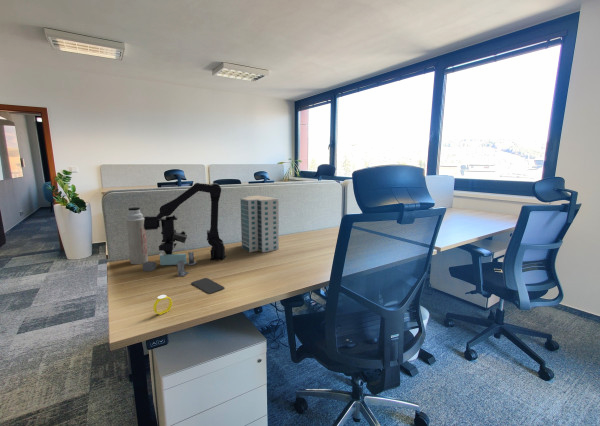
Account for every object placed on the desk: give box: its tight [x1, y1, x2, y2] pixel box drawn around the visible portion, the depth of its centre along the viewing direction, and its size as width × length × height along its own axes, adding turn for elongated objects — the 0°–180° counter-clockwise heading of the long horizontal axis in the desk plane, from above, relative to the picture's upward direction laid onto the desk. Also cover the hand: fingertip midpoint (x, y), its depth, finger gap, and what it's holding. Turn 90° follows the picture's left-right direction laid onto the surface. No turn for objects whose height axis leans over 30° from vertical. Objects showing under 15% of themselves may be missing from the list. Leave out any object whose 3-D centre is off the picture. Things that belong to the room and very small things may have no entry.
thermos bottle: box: [125, 206, 149, 265], centre depth 144 cm, size 8×8×28 cm
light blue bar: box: [159, 252, 188, 266], centre depth 141 cm, size 2×12×6 cm, turn 99°
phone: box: [191, 277, 226, 295], centre depth 118 cm, size 7×1×15 cm
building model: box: [239, 195, 280, 253], centre depth 169 cm, size 20×16×30 cm
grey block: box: [176, 261, 189, 277], centre depth 129 cm, size 3×4×6 cm
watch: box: [152, 294, 173, 316], centre depth 96 cm, size 6×3×6 cm, turn 146°
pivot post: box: [186, 251, 197, 266], centre depth 143 cm, size 4×4×6 cm
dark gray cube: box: [142, 260, 157, 272], centre depth 135 cm, size 4×4×4 cm
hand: (170, 258), depth 145 cm, fingers closed
